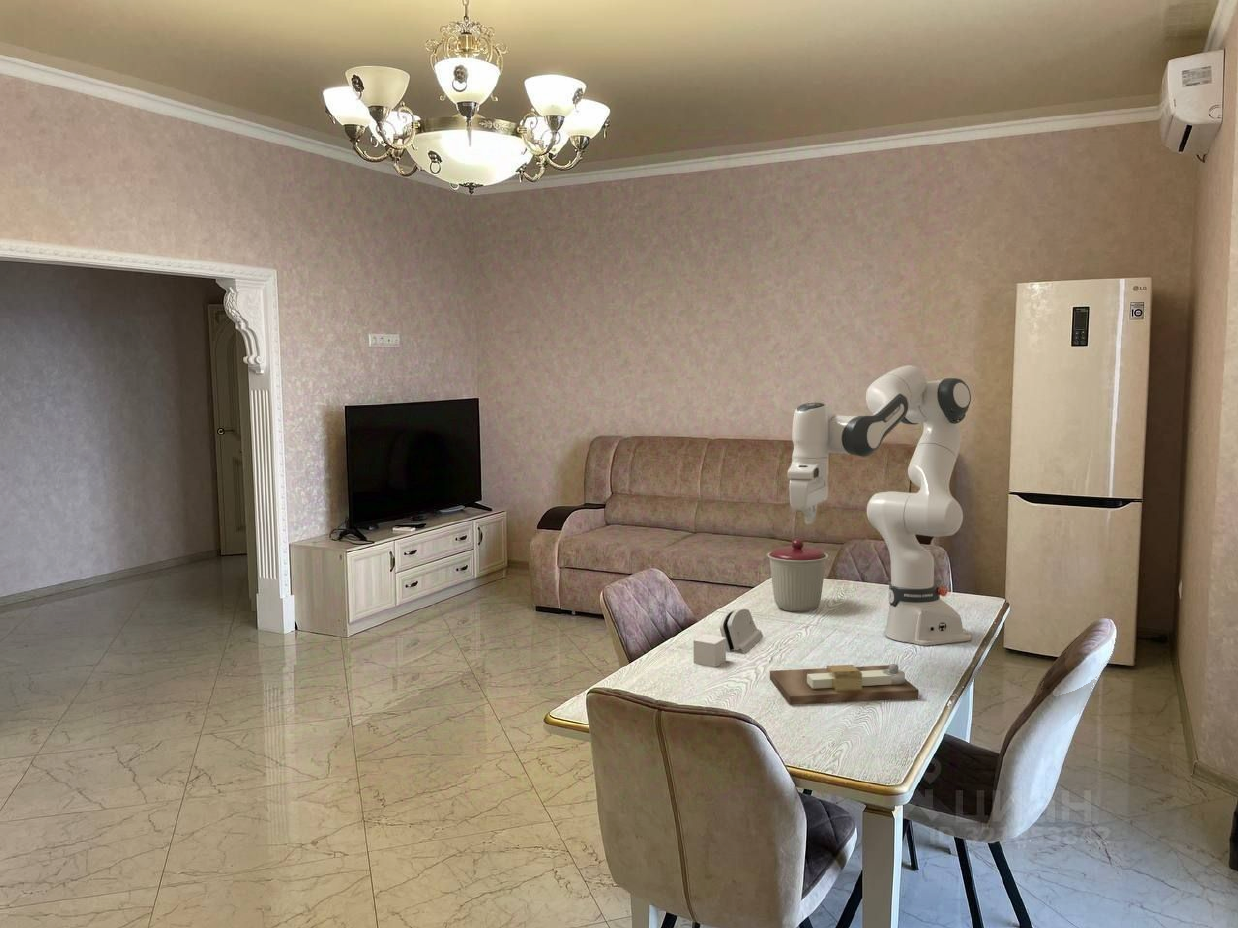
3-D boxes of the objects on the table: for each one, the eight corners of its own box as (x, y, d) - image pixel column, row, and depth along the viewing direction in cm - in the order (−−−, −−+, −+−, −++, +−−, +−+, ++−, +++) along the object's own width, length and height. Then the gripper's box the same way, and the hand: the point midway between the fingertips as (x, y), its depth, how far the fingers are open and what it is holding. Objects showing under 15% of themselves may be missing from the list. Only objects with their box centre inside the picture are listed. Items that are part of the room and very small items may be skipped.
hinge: (744, 654, 236) (731, 617, 236) (728, 658, 238) (715, 621, 238) (763, 636, 251) (751, 601, 251) (748, 640, 253) (736, 605, 253)
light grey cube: (715, 667, 226) (714, 643, 226) (693, 663, 230) (693, 640, 229) (726, 660, 231) (725, 637, 231) (704, 656, 235) (704, 633, 234)
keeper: (852, 681, 208) (852, 664, 208) (861, 690, 202) (862, 673, 202) (826, 682, 208) (826, 665, 207) (835, 692, 202) (835, 674, 201)
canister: (836, 604, 283) (836, 537, 281) (815, 618, 268) (815, 547, 266) (780, 597, 293) (781, 532, 290) (757, 610, 277) (757, 541, 275)
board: (888, 673, 220) (889, 665, 219) (918, 698, 203) (918, 689, 203) (769, 678, 217) (769, 670, 217) (789, 705, 200) (789, 696, 200)
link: (899, 676, 210) (899, 661, 210) (908, 683, 206) (908, 668, 205) (806, 681, 208) (806, 666, 208) (813, 689, 203) (813, 673, 203)
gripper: (810, 463, 240) (810, 516, 242) (785, 472, 222) (784, 528, 224) (834, 464, 237) (833, 517, 239) (810, 473, 219) (810, 530, 221)
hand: (809, 523), depth 231 cm, fingers closed
